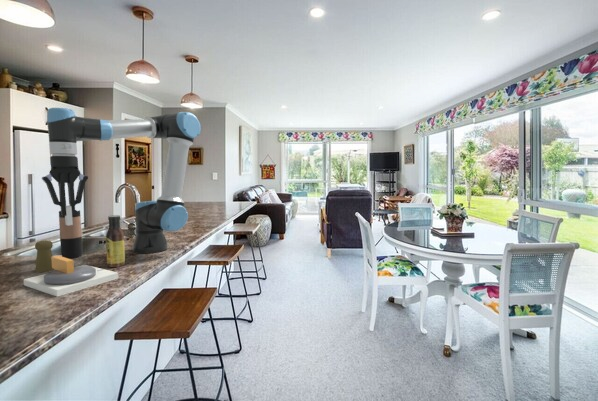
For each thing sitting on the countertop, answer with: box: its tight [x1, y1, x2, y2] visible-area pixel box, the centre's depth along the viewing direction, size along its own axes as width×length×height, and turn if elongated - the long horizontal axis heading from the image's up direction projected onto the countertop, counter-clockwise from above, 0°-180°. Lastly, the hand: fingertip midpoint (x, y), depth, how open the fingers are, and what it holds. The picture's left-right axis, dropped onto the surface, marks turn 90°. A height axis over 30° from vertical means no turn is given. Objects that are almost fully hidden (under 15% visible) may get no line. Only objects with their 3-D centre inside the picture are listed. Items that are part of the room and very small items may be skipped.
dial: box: [43, 254, 96, 285], centre depth 108 cm, size 18×14×6 cm
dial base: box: [23, 264, 119, 297], centre depth 110 cm, size 19×20×2 cm
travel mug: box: [58, 209, 83, 260], centre depth 140 cm, size 8×8×20 cm
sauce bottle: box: [105, 214, 126, 268], centre depth 127 cm, size 6×6×20 cm
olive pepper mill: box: [34, 239, 55, 273], centre depth 122 cm, size 6×6×11 cm
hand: (69, 224), depth 112 cm, fingers closed
